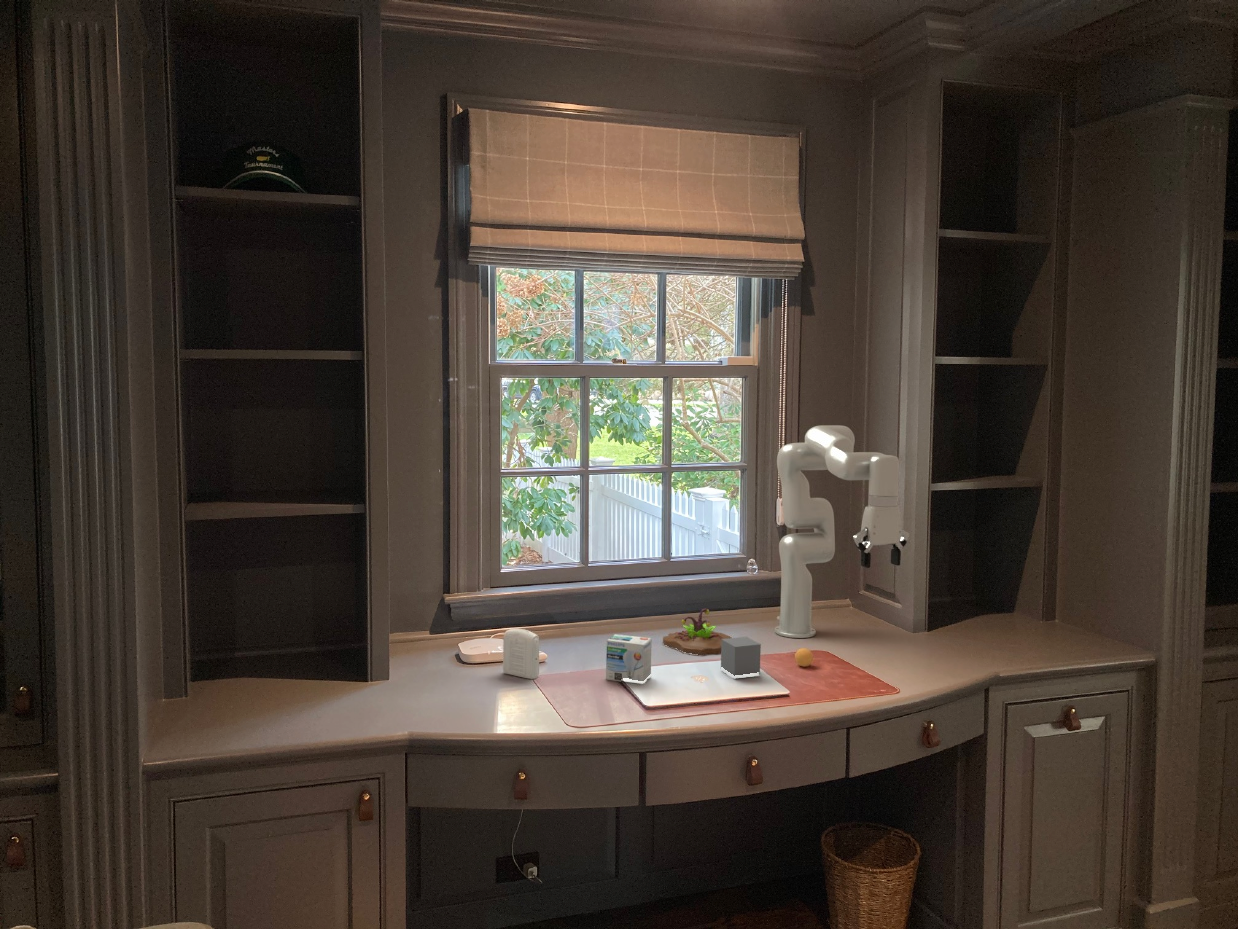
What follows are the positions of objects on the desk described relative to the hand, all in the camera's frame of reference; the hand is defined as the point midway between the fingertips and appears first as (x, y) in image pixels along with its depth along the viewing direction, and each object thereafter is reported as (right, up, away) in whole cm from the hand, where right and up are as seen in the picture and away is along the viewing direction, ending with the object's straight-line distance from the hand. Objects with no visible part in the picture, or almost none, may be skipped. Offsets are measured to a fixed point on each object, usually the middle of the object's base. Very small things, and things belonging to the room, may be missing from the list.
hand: (880, 565), depth 243 cm
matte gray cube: (-37, -30, +4) cm, 47 cm away
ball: (-18, -27, +11) cm, 34 cm away
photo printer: (-96, -29, 0) cm, 100 cm away
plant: (-45, -28, +31) cm, 61 cm away
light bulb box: (-67, -30, -2) cm, 73 cm away
